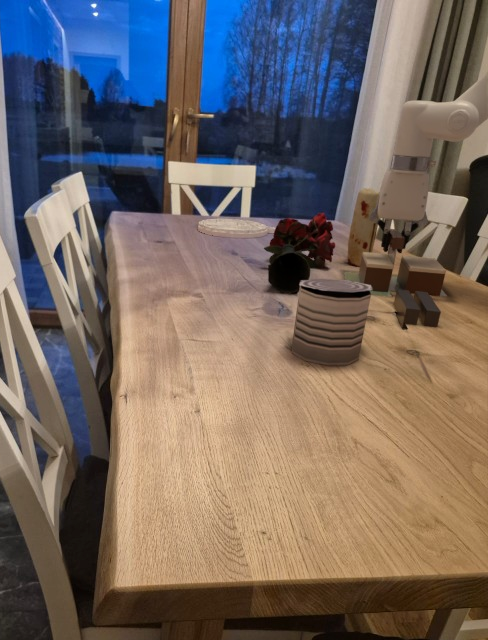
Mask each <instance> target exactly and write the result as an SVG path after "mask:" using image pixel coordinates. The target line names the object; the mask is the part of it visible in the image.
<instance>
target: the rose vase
mask: <svg viewBox="0 0 488 640" xmlns="http://www.w3.org/2000/svg"><path fill="white" fill-rule="evenodd" d="M327 218H328V217H326V214H325V212H322V213H321V212H318V213H317V215H314V216H313V217H312V219H310V221H309V222H308V224H306V223H302V222H300V221H299V219H296V218H289V217H286V218H281V219H279V221H278V223H277V225H276V227H275V228H276V229H275V231H274V233H273V235H272V238H271V239H270V241H269V245H268V246H265V247H263V249H264V251H265V252H267V253H271V254H272V255H270V257H269V258H268V260H269V264H268V266H267V272H268V273H267V275H268V277H267V281H268V283H269V284H270V285H271V286H273V288H274V289H275V290H276V291H278V292H280V293H284V294H293V293H296V292H299V289H300V281H301V280H310V276H311V268H313V269H322V268H323V267H325V265H326V261H328V262H329V263H333V257H332V256H334V249H335V248H336V243H335V242H334V241H332V242H331V240H333V239H334V237H333V234H332V232H333V231H334V226H333V222H332V221H330V220H328V221H327ZM307 251H308V254H305V253H303V252H307Z"/></svg>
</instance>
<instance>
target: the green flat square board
mask: <svg viewBox="0 0 488 640" xmlns="http://www.w3.org/2000/svg"><path fill="white" fill-rule="evenodd" d="M343 274H344V278H345V280H347V281H353V282H358V283H360V279H359V272H349V271H344V273H343ZM397 289H399V290H402V289H401V287H400V285H399V283H398V281H397V276H393V275H392V277H391V282H390V287H389V290H388V292H381V291H370V290H369V291H370V293H371V296H379V297H389V298H393V297H394V296H393V294H392V292H396V291H397ZM440 296H442V297H447V296H448V295H447V293H446V292H444V290H443V288H442V289H441V293H440Z"/></svg>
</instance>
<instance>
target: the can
mask: <svg viewBox="0 0 488 640" xmlns="http://www.w3.org/2000/svg"><path fill="white" fill-rule="evenodd" d="M369 290H373V289H372V287H371V285H368V284H363V283H358V282H353V281H347V280H346V279H330V278H314V279H309V280H301V281H300V289H299V290H298V296H297V297H298V298H297V303H296V304H297V306H296V313H295V320H294V328H293V333H292V342H291V352H292V353H293V354H292V353H291V354H292V355H294V356H296V357H297V356H298V357H297V358H299V357H300V358H299V359H301V360H302V361H304V360H305V361H304V362H307V361H309V362H308V363H312V362H313V364H317V365H322V366H327V367H328V366H329V367H330V366H349V365H351V364H353V363H356V362H358V361H359V359H360V355H361V354H360V353H361V349H362V345H363V338H364V335H365V334H364V333H365V328H366V324H367V323H366V322H367V318H368V312H369V307H370V302H371V296H372V295H371V293H370V291H369Z"/></svg>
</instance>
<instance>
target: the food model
mask: <svg viewBox="0 0 488 640" xmlns="http://www.w3.org/2000/svg"><path fill="white" fill-rule="evenodd" d="M379 192H380V191H377V190H375V189H373V188H366V187H364V188H363V187H362V189H360V190H359V191H358V193H357V196H356V201H355V205H354V210H353V214H352V219H351V225H350V230H349V235H348V240H347V263H348V265H350V266H353V267H359V268H360V265H361V259H362V254H363V252H369V253H373V251H374V245H375V241H376V238H377V237H376V236H377V232H378V227H379V225H377V224H376V223H374V222H372V221H371V220H370V219H369V217H370V216H371V214H372V213H373V211H374V210H375V208H376V206H377V201H378V197H379ZM378 218H379V219H380V217H379V216H378Z"/></svg>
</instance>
